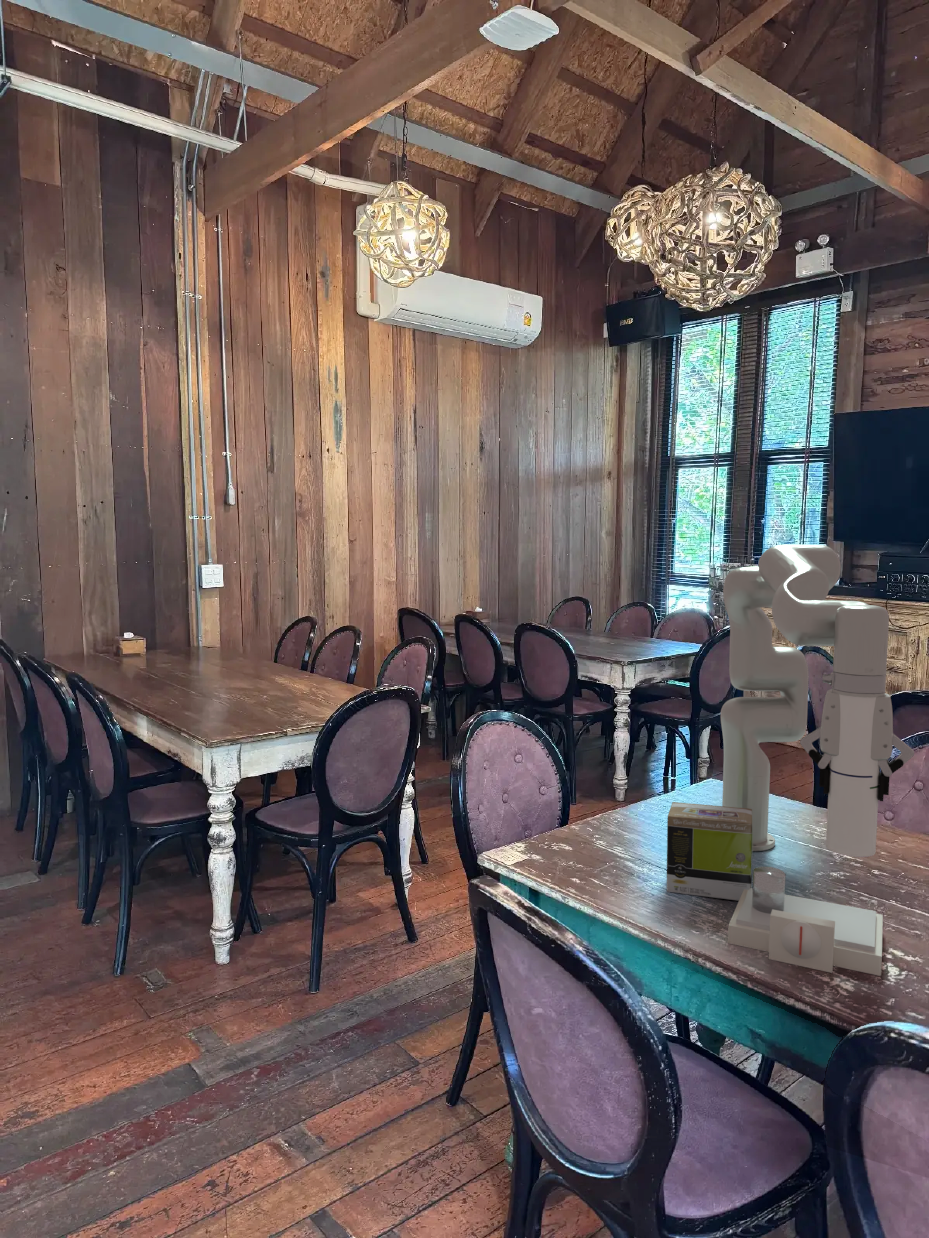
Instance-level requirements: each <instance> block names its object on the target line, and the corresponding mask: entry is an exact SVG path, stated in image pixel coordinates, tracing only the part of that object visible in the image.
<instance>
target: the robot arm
mask: <svg viewBox="0 0 929 1238" xmlns="http://www.w3.org/2000/svg"><path fill="white" fill-rule="evenodd" d="M757 565H758V566H745V567H744V566H742V567H739V568H735V569H734V568H733V570H731V571H729V572H728V573H727V575H726V576H725V579H724V583H723V588H722V589H723V590H722V591H723V592H722V595H723V602H724V603H723V604H724V608H725V610H726V614H727V618H728V621H729V622H728V623H729V629H730V631H729V632H730V633H729V658H728V659H729V665H728V667H729V668H728V669H729V680H730V683H731V685H732V686H733V688H735V689H736V690H739V691H745V692H746V691H747V692H779V695H780V696H779V697H778V696H777V697H776V696H775V697H774V696H773V697H771V696H765V697H764V696H739V697H733V698H731V699H728V700H726V701H725V702H724V704H723V705H722V707H721V709H720V724H721V725H720V726H721V731H722V739H723V740H722V741H723V742H722V743H723V766H722V767H723V768H722V769H723V774H722V799H721V800H722V802H721V803H722V805H721V806H725V807H736V808H748V809H752V834H753V835H752V852H762V851H763V852H764V851H767V850H771V849H773V848H774V846H775V845H776V839H775V837H774V836H772V834H770V833H769V832H768V830H769V828H768V827H769V808H770V807H769V806H770V805H769V803H770V783H771V781H770V779H771V776H770V775H771V764H770V760H769V758H768V756H767V755H766V753H765V751H764V750H762V748H761V747H760V745H759V744H760V743H789V742H790V743H793V742H797V741H799V745H801V747H802V748H803V749H804V751H805V752H806V753H807V754H808V756H809V757H810V758H811V760H812V761H814V763H815V764H816V765H817V766H818V768H819V784H818V786H819V787H820V788H823V795H828V793H829V774H830V760H831V758H832V756H837V755H839V743H840V696H839V694H840V695H847V696H854V697H876V701H875V707H874V714H873V725H872V741H871V759H872V760H877V761H878V764H879V766H880V775H879V793H878V801H879V802H884V796H889V795H890V777H891V776H892V774H894V773H895V772H897V771H898V770H900V769H901V768H902V767H903V766H904V765H905V764H906V763H908V762H909V761H910V760H911V759H912V758H913V757H914V756H915V751H914V749H912V747H910V746H909V745H908V744H906V743H905V742H904V741H903V740H902V739H901V738H900V737H898V736H897V735H896V734H895V733H894V729H893V728H894V726H893V725H894V721H893V720H894V719H893V718H894V717H893V705H892V704H893V703H892V699H891V698H892V697H891V695H890V694H888V693H886V686H887V685H886V684H887V683H886V680H887V667H888V665H887V663H888V648H889V646H888V645H889V626H890V625H889V624H890V615H889V612H888V610H887V609H886V608H885V607H883V606H880V605H872V604H871V605H870V604H868V603H866V602H863V601H860V600H859V601H858V600H836V599H835V600H826V599H827V596H828V594H829V591H830V590H831V589H833V587H834V586H835V585H836V584H837V582H838V580H839V578H840V576H841V562H840V558H839V555H838V553H837V552H836V551H835V550H834V549H833V548H832V547H830V546H827V545H822V544H787V543H786V544H779V545H778V544H777V545H775V546H772V547H770V548H767V549H766V550H765V551H764V552H763V553H762V554H761V556H760V557H759V560H758V564H757ZM762 608H769V609H771V614H772V620H773V623H774V625H775V627H776V628H777V630H778V631H779V632H780V633H781V634H782V636H783V638H785V639H786V640H787V641H789V643H792V644H794V645H797V646H800V647H801V646H802V647H833V661H832V664H833V665H832V672H830V673H828V674H822V680H821V681H822V682H821V683H824V684H828V685H829V686H830V687H831V689H827V690H826V694H825V695H824V696H825V697H824V702H823V706H822V715H821V723H820V727H818V728H816V729H815V730H813V731H812V732H810V733H808V734H807V735H806V731H807V726H808V704H809V703H808V702H809V700H808V699H809V667H808V666H809V665H808V661H807V659H806V656H805V654H804V652H802V651H801V650H799V649H798V648H795V647H792V646H774V645H773V625H772V622H771V620H770V618H769V617H768V615H767V613H765V611H764V610H763V609H762ZM833 706H834V707H833ZM881 710H882V711H881ZM818 739H819V747H820V750H821V752H822V753H823V754H821V753H820V752H819V751H818V750H817V749H816V748H815V747H814V745H813V743H814V742H815V741H817V740H818ZM893 746H894V747H895V748H896V749H897V750H898V751H900V752H901V753H900V754H899V755H898V756H897V757H896V758H894V759H893V760H891V761H889V760H888V759H890V758H891V756H892V754H893V753H892V752H893Z"/></svg>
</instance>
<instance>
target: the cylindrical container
mask: <svg viewBox="0 0 929 1238" xmlns="http://www.w3.org/2000/svg"><path fill="white" fill-rule="evenodd" d="M839 696H840V743H839V755H837V756H832V758H831V760H830V762H829V767H830V774H829V793H827V796H828V797H827V813H826V814H827V815H826V816H827V818H826V836H825V837H826V838H825V841H826V842H825V847H826V848H827V849H828V850H829V851H831V852H833V853H834V854H839V855H844V856H848V857H854V858H855V857H856V858H867V857H873V856H874V855H875V854H876V851H877V849H876V848H877V831H878V812H879V800H878V793H879V775H880V773H881V768H880V766H879V764H878V761H877V760H872V759H871V741H872V725H873V714H874V707H875V701H876V697H854V696H847V695H840V694H839ZM833 707H834V706H833ZM881 711H882V710H881Z"/></svg>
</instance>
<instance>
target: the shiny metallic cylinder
mask: <svg viewBox="0 0 929 1238" xmlns="http://www.w3.org/2000/svg"><path fill="white" fill-rule="evenodd" d="M752 889H753V893H752V907H753V908H754V909H756V910H758V911H760V912H763V913H768V914H771V912H772V909H773V910H778V911H784V898H785V895H786V891H785V890H786V873H785V871H784V870H781V869H779V868H777V867H772V866H757V867H754V868H753V869H752Z"/></svg>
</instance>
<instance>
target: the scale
mask: <svg viewBox="0 0 929 1238" xmlns="http://www.w3.org/2000/svg"><path fill="white" fill-rule="evenodd" d="M752 893H753V887H751V888H749V890H746V889H744V891H743V893H742V895H741V897H740V900H739V901H738V902H737V904H736V907H735V909H734V912H733V914H732V917H731V919H730V920H729V924H728V930H727V931H728V932H727V944H731V945H734V946H738V947H739V946H740V947H743V948H744V947H745V948H748V949H753V950H758V951H764V952H768V960H773V961H776V962H780V963H785V964H789V965H794V966H799V967H803V968H808V969H812V970H818V971H822V972H827V973H831V974H833V971H834V970H833V969H834V967H837V968H842V969H847V970H850V971H855V972H856V971H857V972H859V973H860V972H861V973H865V974H870V975H875V976H879V977H882V962H883V961H882V960H883V920H884V919H883V914H881V913H877V911H876V910H872V909H865V908H861V907H855V906H852V905H851V906H850V905H844V904H838V903H833V902H828V901H822V900H816V899H811V898H807V897H801V896H795V895H790V894H789V895H788V894H785V898H784V911H778V910H773V909H772V912H771V914H768V913H763V912H760V911H758V910H756V909H754V908H753V907H752Z"/></svg>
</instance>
